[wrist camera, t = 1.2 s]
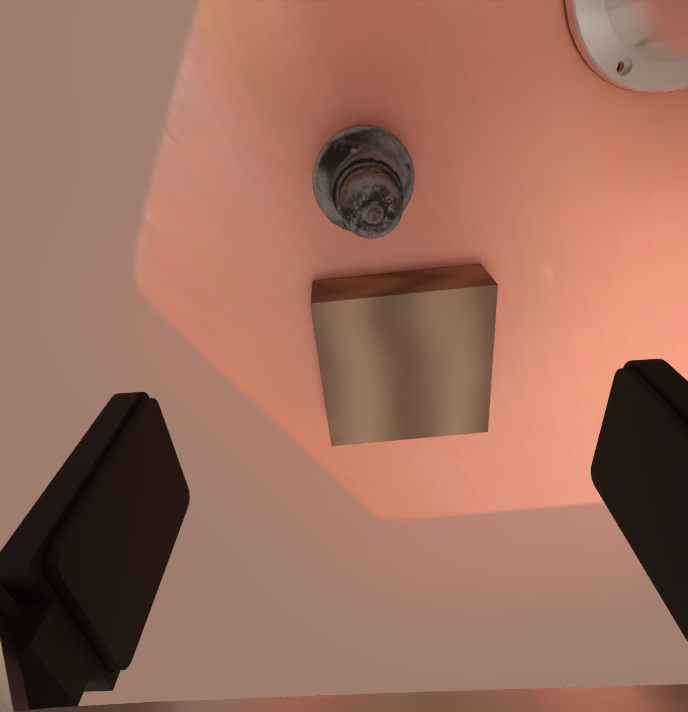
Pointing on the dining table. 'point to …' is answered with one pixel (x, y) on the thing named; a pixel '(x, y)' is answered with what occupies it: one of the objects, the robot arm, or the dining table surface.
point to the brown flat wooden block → (406, 353)
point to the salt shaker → (363, 180)
